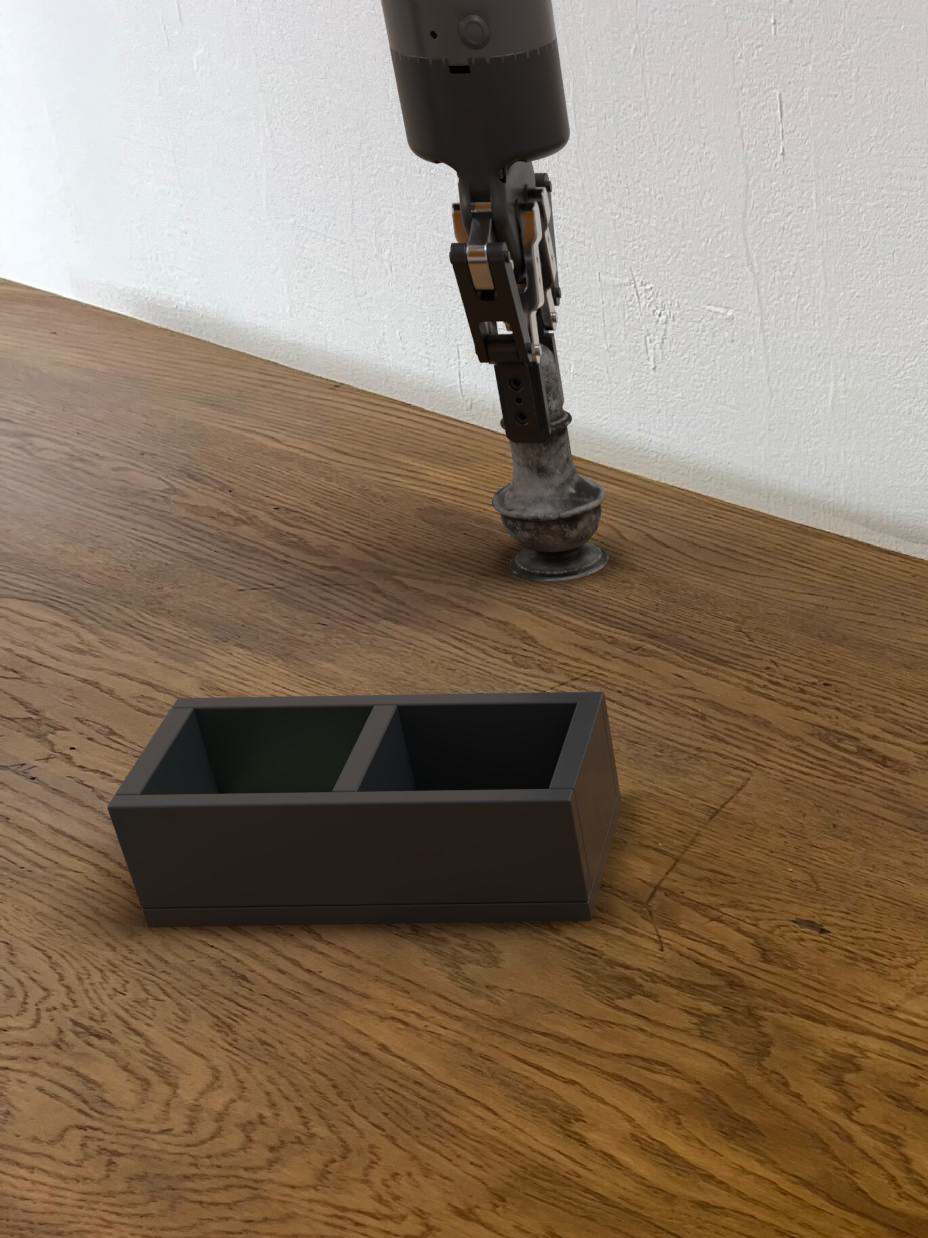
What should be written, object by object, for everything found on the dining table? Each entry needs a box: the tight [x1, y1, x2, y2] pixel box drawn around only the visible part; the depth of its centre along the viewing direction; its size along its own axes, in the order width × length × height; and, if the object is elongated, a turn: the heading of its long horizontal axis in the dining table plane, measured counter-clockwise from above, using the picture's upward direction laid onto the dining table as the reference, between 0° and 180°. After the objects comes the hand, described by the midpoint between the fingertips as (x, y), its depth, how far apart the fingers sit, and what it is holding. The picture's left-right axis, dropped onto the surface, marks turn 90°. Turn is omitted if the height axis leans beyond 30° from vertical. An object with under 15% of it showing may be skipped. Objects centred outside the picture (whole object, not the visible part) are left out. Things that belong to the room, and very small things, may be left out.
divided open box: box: [106, 691, 624, 928], centre depth 85 cm, size 10×18×6 cm, turn 90°
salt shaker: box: [491, 343, 610, 582], centre depth 106 cm, size 6×6×12 cm
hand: (536, 424), depth 105 cm, fingers closed on salt shaker, 3 cm apart
